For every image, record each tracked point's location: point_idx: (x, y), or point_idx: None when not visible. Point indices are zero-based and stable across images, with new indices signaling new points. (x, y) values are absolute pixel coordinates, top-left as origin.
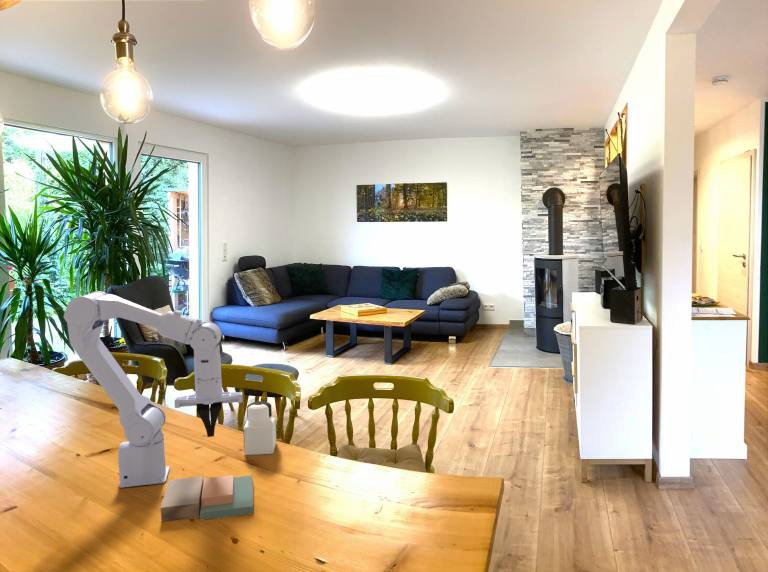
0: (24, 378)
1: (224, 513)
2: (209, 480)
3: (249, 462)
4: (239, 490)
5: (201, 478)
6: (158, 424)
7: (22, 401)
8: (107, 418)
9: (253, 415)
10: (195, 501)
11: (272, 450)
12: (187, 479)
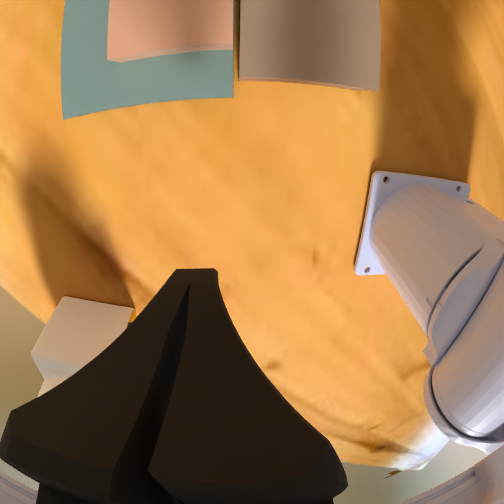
0: (426, 458)
1: None
2: (206, 17)
3: (108, 260)
4: (102, 8)
5: (245, 58)
6: (494, 343)
7: None
8: (398, 430)
9: None
10: None
11: (60, 301)
12: (307, 67)
